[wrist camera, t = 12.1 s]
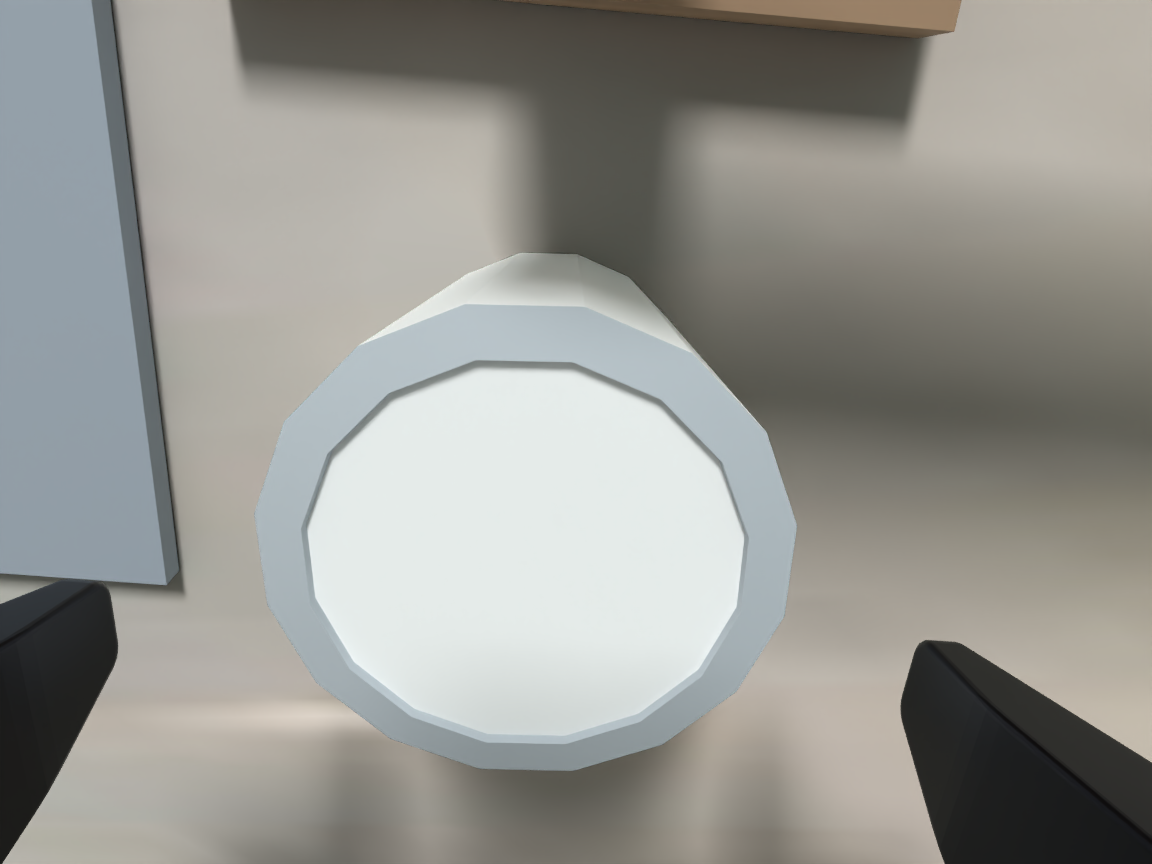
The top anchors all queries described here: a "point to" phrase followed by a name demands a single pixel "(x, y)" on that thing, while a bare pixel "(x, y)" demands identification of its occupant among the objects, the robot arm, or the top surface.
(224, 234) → the top surface
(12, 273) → the slate mat
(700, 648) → the white tapered cup
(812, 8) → the stand
